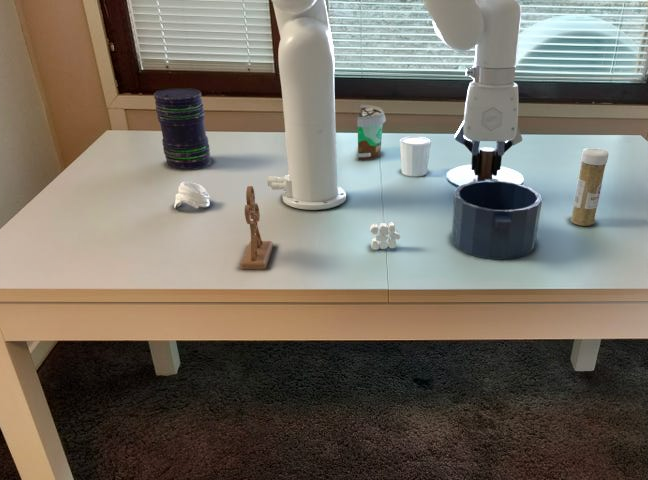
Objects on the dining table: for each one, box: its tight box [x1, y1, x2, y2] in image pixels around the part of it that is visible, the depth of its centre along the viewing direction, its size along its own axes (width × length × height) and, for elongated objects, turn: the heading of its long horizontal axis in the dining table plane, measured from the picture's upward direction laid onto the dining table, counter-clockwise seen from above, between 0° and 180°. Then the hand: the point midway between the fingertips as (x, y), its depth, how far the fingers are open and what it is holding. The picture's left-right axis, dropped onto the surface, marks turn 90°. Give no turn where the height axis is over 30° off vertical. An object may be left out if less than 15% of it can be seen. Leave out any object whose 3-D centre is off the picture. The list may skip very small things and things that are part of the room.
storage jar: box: [153, 87, 212, 171], centre depth 142 cm, size 10×10×15 cm
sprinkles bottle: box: [570, 147, 609, 227], centre depth 119 cm, size 5×5×13 cm
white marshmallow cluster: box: [369, 221, 401, 251], centre depth 110 cm, size 5×1×4 cm, turn 94°
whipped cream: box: [173, 181, 211, 210], centre depth 124 cm, size 8×7×5 cm
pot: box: [451, 179, 543, 260], centre depth 112 cm, size 15×20×8 cm
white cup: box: [399, 136, 432, 177], centre depth 142 cm, size 7×7×7 cm
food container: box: [356, 104, 387, 161], centre depth 151 cm, size 12×6×10 cm, turn 179°
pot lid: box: [445, 146, 525, 188], centre depth 129 cm, size 16×16×7 cm
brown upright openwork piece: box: [240, 185, 274, 270], centre depth 104 cm, size 9×4×12 cm, turn 1°
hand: (485, 172), depth 130 cm, fingers closed on pot lid, 3 cm apart
